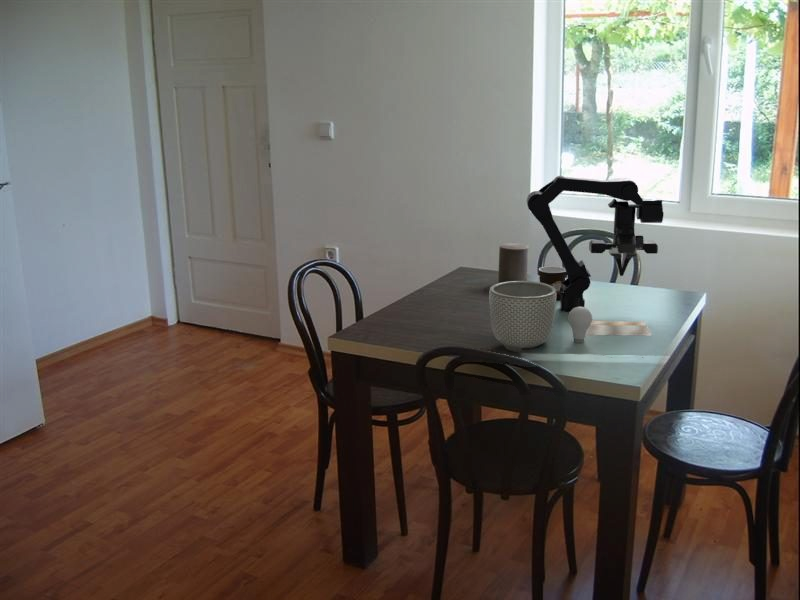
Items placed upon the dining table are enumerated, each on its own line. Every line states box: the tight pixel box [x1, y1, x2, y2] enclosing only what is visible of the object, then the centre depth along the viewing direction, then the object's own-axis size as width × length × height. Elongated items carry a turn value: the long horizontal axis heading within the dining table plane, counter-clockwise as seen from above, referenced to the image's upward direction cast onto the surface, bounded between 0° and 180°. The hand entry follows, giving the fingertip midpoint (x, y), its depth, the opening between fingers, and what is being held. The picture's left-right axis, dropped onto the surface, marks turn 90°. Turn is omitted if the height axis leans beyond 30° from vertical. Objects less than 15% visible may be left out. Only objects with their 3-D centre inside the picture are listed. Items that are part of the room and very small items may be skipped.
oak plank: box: [590, 320, 646, 326], centre depth 234 cm, size 20×9×1 cm, turn 84°
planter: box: [488, 280, 557, 353], centre depth 215 cm, size 17×17×16 cm
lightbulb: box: [567, 307, 593, 344], centre depth 215 cm, size 6×6×11 cm
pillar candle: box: [497, 241, 530, 284], centre depth 276 cm, size 10×10×15 cm
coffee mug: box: [538, 266, 568, 302], centre depth 258 cm, size 12×9×10 cm
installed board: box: [585, 325, 653, 337], centre depth 225 cm, size 20×9×2 cm, turn 84°
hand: (621, 275), depth 240 cm, fingers closed
